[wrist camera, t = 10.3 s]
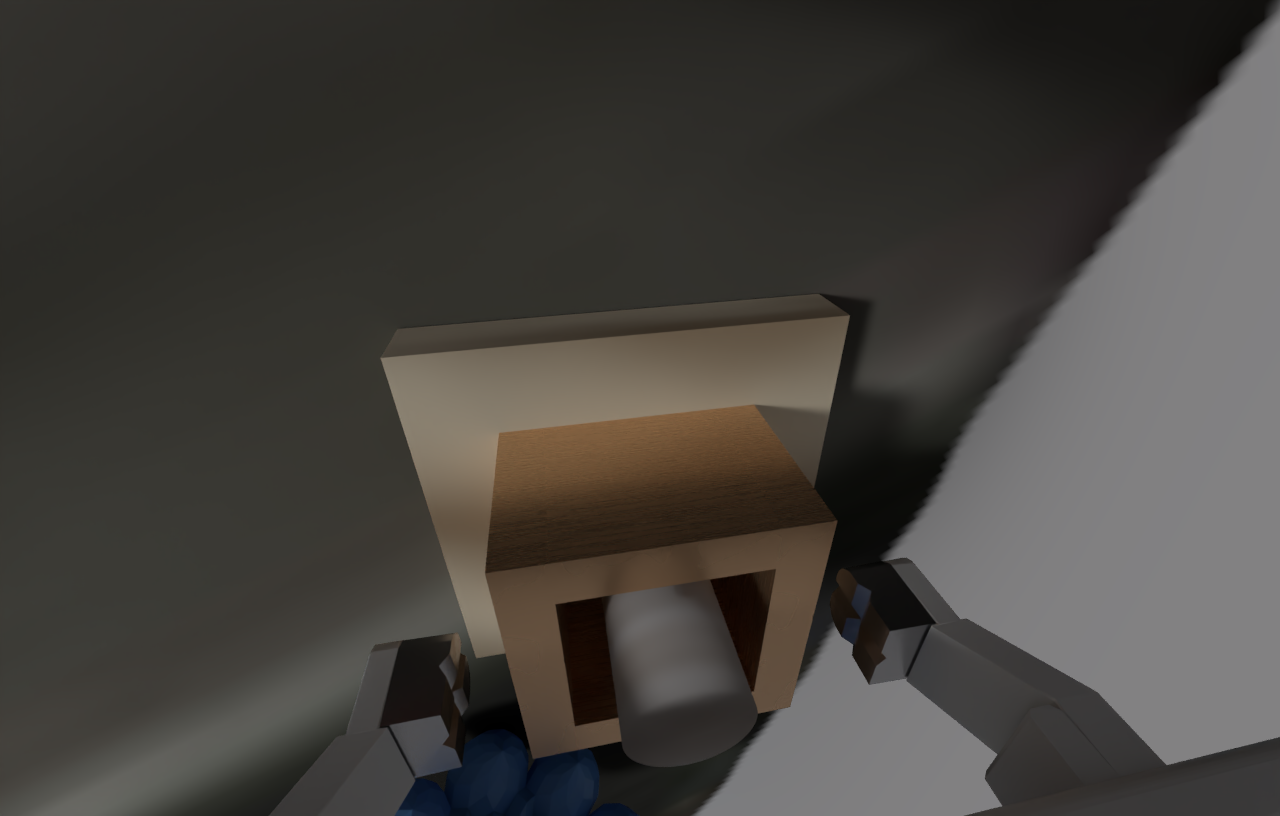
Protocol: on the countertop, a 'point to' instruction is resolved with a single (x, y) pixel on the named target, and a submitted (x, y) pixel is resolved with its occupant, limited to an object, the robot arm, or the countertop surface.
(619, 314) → the post stand
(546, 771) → the grapes
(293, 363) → the countertop surface
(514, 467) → the square wooden ring
